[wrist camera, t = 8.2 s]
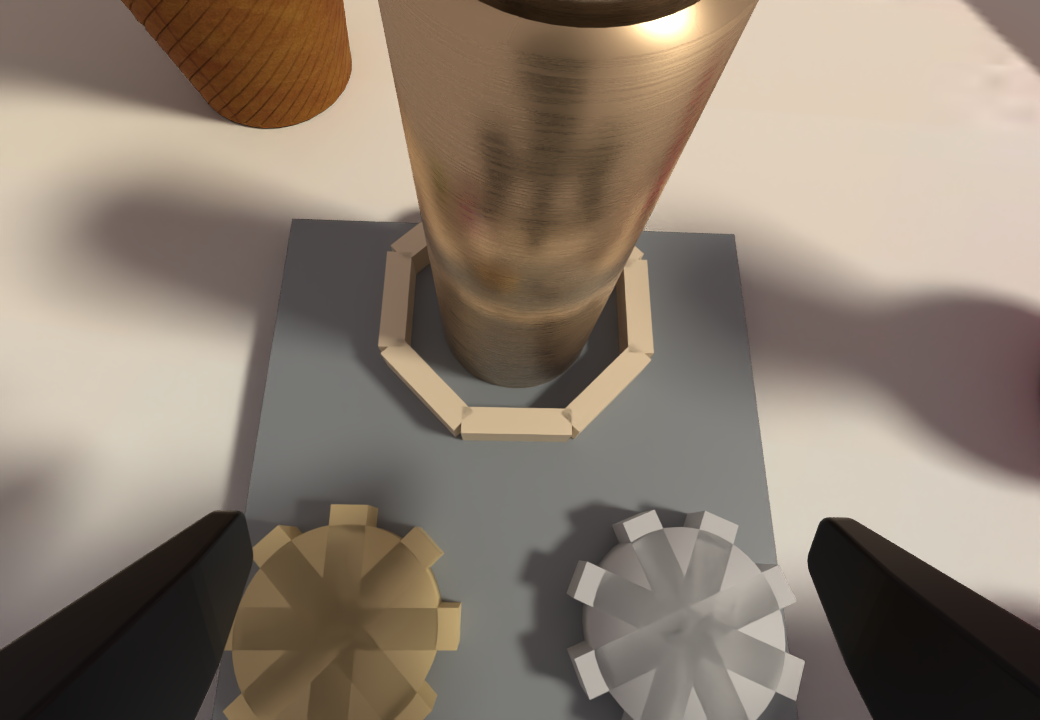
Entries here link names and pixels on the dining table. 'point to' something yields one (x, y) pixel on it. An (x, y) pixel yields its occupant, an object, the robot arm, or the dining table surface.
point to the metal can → (544, 155)
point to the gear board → (507, 505)
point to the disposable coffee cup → (255, 54)
